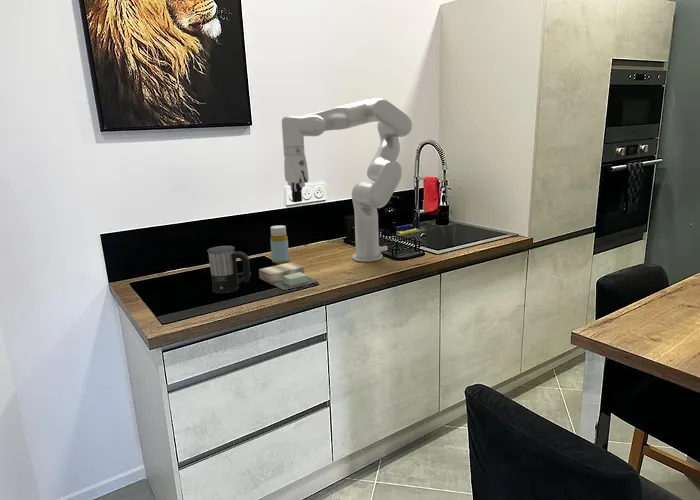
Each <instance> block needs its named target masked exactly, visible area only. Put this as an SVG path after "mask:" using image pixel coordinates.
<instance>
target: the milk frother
mask: <svg viewBox="0 0 700 500" xmlns="http://www.w3.org/2000/svg"><path fill="white" fill-rule="evenodd" d="M206 252H207V253H208V260H209V268H210V269H209V270H210V273H211V274H210V275H211V284H212V285H211V286H212V289H211V291H212V293H214V294H228V293H232V292H233V293H234V292H235V291H238V290H239V289H240V285H239V284H240V283H242V282H244V283H245V284H246V283H249V282H250V280H251V275H252V272H251V270H250V269H251V266H250V258H249V256H248V254H247V253H246V252H243V251H240V250H239V251H235V246H234V245H233V246H232V245H220V246H214V247H210V248H208V249H207V251H206ZM237 259H239V260H241V262H242V272H240V273H238V265H237Z"/></svg>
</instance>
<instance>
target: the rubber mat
mask: <svg viewBox="0 0 700 500" xmlns="http://www.w3.org/2000/svg"><path fill="white" fill-rule="evenodd" d="M307 281H308V282H305V283H301V284H297V285H293V286H289V285H287V284H285V283H283V280H282V281H278V282H274V283H271V284H270V285H272V286H273V285H274V287H275V286H276V287H275V288H277V287H278V288H277V289H279V288H280V289H279V290H281V289H282V290H281V291H283V290H286V291H289V290H288V289H290V290H293V289H292V288H294V289H296V288H295V287H298V288H301V287H300V286H302V287H305V285H306V286H310V285H313V284H312V283H314V284H317V283H319V282H320V281H319V280H317V279H315V278H312V277H310V276H308V275H307ZM309 284H310V285H309Z"/></svg>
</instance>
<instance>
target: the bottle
mask: <svg viewBox="0 0 700 500" xmlns="http://www.w3.org/2000/svg"><path fill="white" fill-rule="evenodd" d="M288 239H289V238H288V235H287V227H286V225H282V224H280V225H272V226H270V238H269V240H270V253H271V262H272V263H273V264H274V263H276V264H275V265H281V264H285V263H289V261H290V254H289V250H290V249H289V240H288Z"/></svg>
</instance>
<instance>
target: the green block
mask: <svg viewBox="0 0 700 500" xmlns="http://www.w3.org/2000/svg"><path fill="white" fill-rule="evenodd" d="M307 276H308V275H307V274H306V273H304V274H303V273H301V272H298V273H294V274H290V275H286V276H283V283H285V284H287V285H289V286H293V285H297V284H301V283H305V282H308V281H307Z"/></svg>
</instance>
